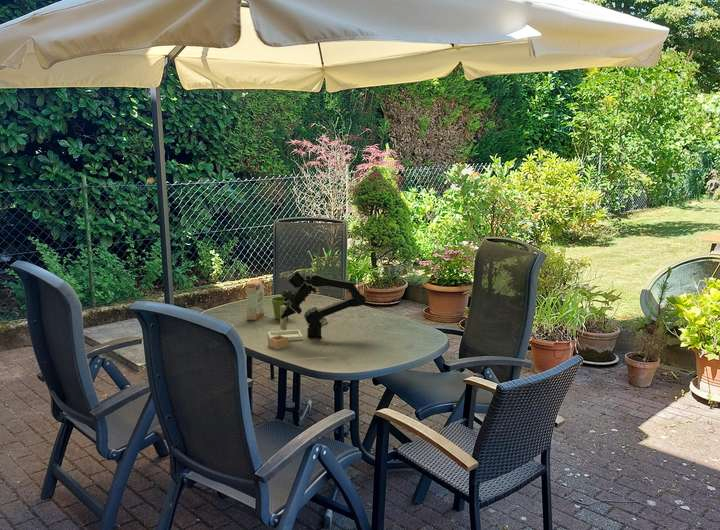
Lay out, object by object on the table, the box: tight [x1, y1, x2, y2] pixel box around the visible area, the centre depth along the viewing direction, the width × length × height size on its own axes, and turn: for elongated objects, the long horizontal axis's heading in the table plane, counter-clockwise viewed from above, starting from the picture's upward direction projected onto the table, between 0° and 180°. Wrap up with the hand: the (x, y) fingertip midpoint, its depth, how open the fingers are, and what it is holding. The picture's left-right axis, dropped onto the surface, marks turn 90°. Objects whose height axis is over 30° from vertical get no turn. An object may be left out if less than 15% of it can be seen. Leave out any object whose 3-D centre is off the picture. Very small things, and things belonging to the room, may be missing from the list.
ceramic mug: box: [320, 317, 329, 324], centre depth 339 cm, size 11×8×8 cm
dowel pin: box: [279, 306, 288, 331], centre depth 306 cm, size 3×3×12 cm
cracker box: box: [246, 278, 265, 321], centre depth 348 cm, size 14×6×21 cm, turn 171°
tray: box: [267, 329, 304, 342], centre depth 310 cm, size 16×12×2 cm
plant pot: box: [270, 296, 289, 320], centre depth 348 cm, size 12×12×11 cm
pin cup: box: [267, 335, 289, 350], centre depth 297 cm, size 7×7×4 cm
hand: (280, 317), depth 306 cm, fingers closed on dowel pin, 3 cm apart
